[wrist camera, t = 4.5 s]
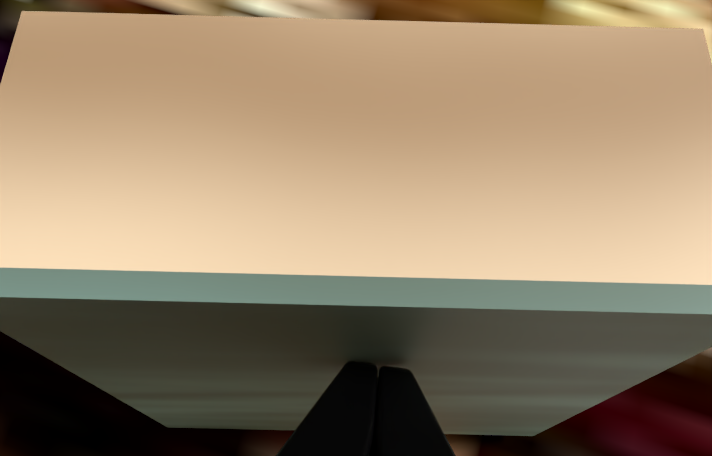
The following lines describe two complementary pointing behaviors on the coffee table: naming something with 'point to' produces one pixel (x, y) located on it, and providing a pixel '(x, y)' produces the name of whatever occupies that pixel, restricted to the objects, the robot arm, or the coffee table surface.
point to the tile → (355, 211)
